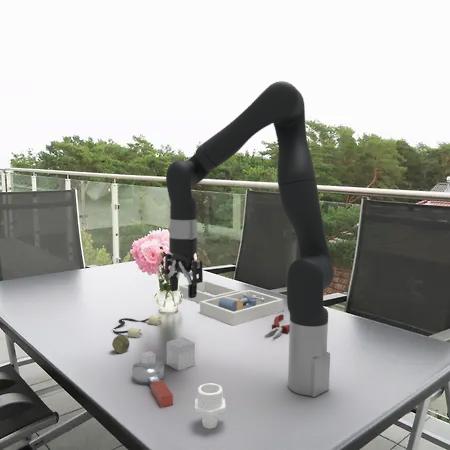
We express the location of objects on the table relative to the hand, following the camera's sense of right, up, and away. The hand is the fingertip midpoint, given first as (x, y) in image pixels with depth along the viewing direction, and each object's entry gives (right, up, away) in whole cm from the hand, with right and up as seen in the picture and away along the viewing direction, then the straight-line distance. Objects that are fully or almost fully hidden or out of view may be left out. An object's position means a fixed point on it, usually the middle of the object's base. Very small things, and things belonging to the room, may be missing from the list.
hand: (182, 294), depth 125 cm
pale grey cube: (-1, -20, +1) cm, 20 cm away
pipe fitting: (+8, -24, -28) cm, 38 cm away
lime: (-19, -19, +10) cm, 29 cm away
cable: (-20, -17, +30) cm, 39 cm away
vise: (+17, -15, +48) cm, 53 cm away
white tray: (+18, -14, +49) cm, 54 cm away
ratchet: (-6, -21, -12) cm, 25 cm away
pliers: (+30, -17, +31) cm, 47 cm away
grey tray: (+5, -12, +66) cm, 67 cm away
